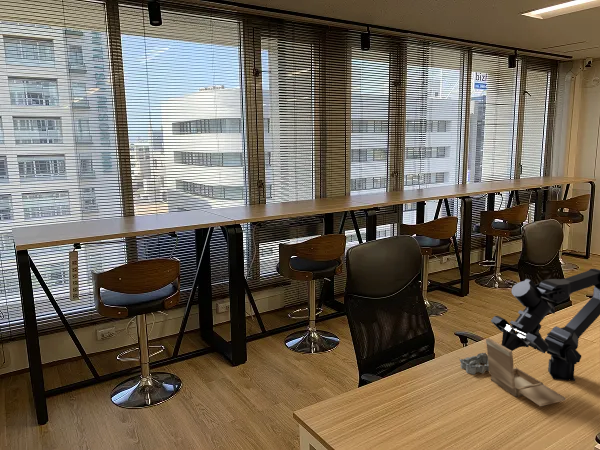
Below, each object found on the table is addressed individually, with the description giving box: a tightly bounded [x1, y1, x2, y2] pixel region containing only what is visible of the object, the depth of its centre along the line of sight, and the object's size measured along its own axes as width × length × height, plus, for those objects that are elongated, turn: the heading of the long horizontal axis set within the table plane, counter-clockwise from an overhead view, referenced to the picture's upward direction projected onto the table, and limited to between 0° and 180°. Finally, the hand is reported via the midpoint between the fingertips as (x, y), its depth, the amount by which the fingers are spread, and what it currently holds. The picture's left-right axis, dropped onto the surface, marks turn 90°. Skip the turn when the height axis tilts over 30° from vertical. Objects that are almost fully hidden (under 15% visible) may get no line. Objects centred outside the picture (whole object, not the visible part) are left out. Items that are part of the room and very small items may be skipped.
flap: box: [485, 337, 515, 389], centre depth 146 cm, size 1×10×12 cm, turn 18°
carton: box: [490, 367, 566, 407], centre depth 145 cm, size 10×20×2 cm, turn 18°
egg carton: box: [459, 352, 489, 375], centre depth 160 cm, size 11×8×4 cm
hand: (501, 355), depth 145 cm, fingers closed, pressing on flap
